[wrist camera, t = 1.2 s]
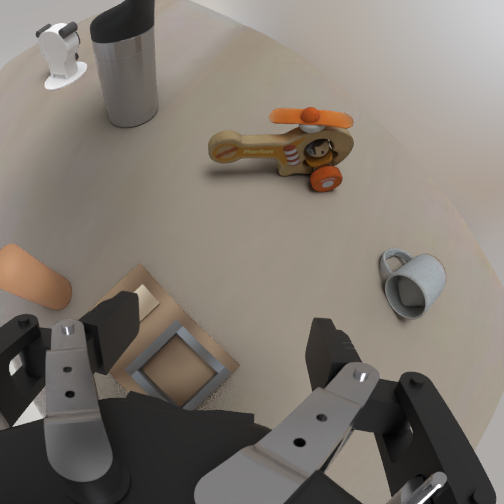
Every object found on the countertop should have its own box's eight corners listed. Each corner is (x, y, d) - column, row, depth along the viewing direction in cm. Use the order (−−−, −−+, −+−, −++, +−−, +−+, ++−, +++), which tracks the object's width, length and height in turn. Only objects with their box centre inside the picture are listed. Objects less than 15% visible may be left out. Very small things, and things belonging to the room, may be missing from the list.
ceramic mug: (426, 295, 39) (458, 283, 32) (399, 323, 37) (434, 314, 30) (395, 243, 42) (424, 223, 35) (365, 266, 39) (395, 247, 32)
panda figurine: (98, 64, 45) (89, 13, 31) (64, 93, 41) (48, 39, 27) (67, 61, 45) (57, 16, 31) (36, 88, 41) (20, 42, 27)
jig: (77, 327, 29) (65, 324, 25) (141, 265, 33) (136, 256, 30) (171, 430, 27) (167, 438, 24) (238, 364, 31) (243, 366, 28)
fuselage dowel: (39, 291, 29) (-12, 264, 18) (60, 269, 31) (13, 234, 20) (55, 317, 28) (2, 299, 17) (77, 294, 30) (30, 267, 19)
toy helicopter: (340, 192, 43) (384, 138, 30) (209, 198, 38) (216, 129, 25) (325, 152, 45) (360, 96, 32) (204, 153, 40) (210, 83, 28)
